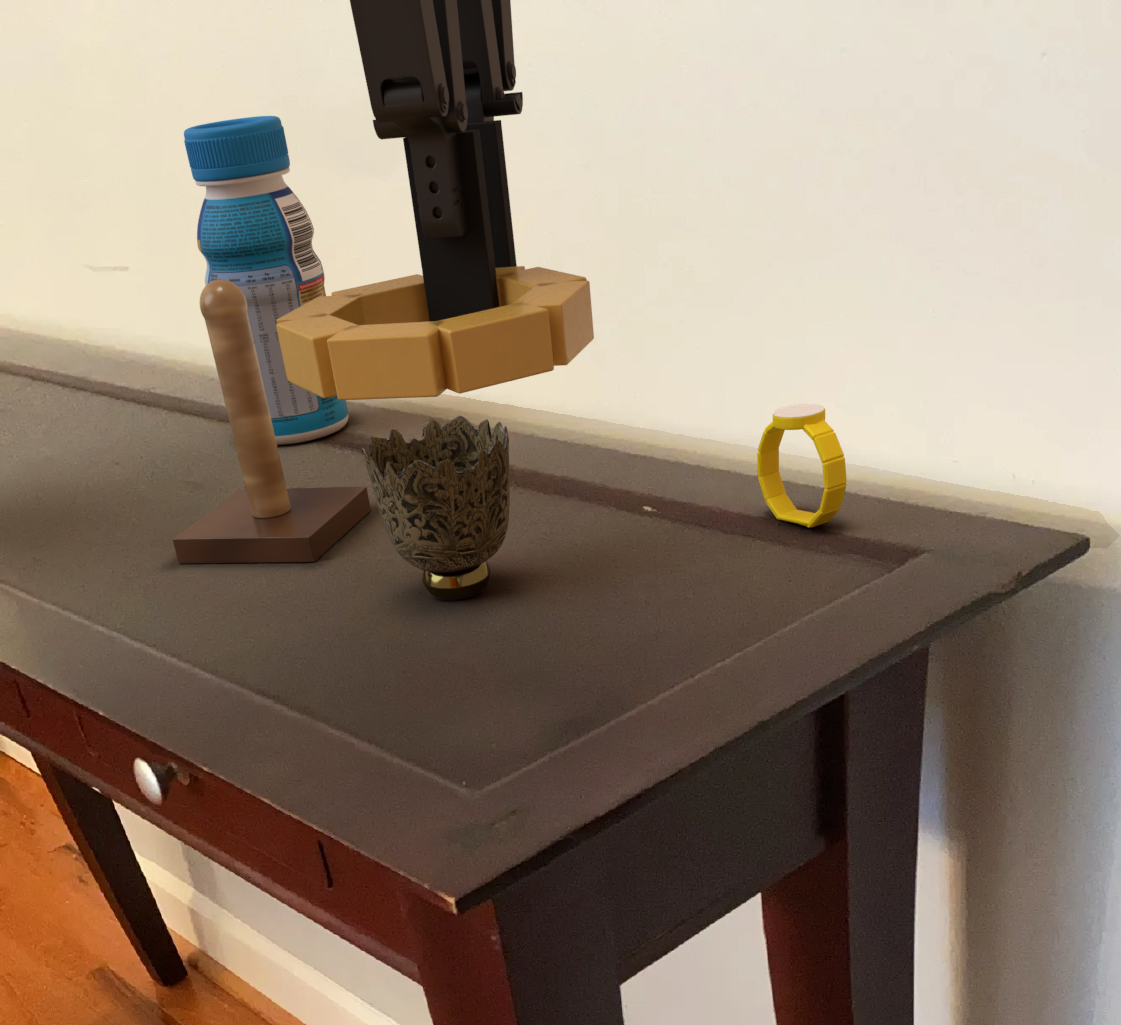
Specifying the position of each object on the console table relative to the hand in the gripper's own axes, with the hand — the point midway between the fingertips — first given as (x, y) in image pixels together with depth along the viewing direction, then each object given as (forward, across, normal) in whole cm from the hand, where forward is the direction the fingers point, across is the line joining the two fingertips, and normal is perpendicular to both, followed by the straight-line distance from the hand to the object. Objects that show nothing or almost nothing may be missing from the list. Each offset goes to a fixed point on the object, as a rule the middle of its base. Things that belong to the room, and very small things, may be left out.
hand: (476, 318), depth 54 cm
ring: (0, -4, 0) cm, 5 cm away
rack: (+16, +19, +22) cm, 33 cm away
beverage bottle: (+16, +42, +31) cm, 55 cm away
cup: (+16, +10, +7) cm, 20 cm away
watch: (+15, +20, -10) cm, 28 cm away
